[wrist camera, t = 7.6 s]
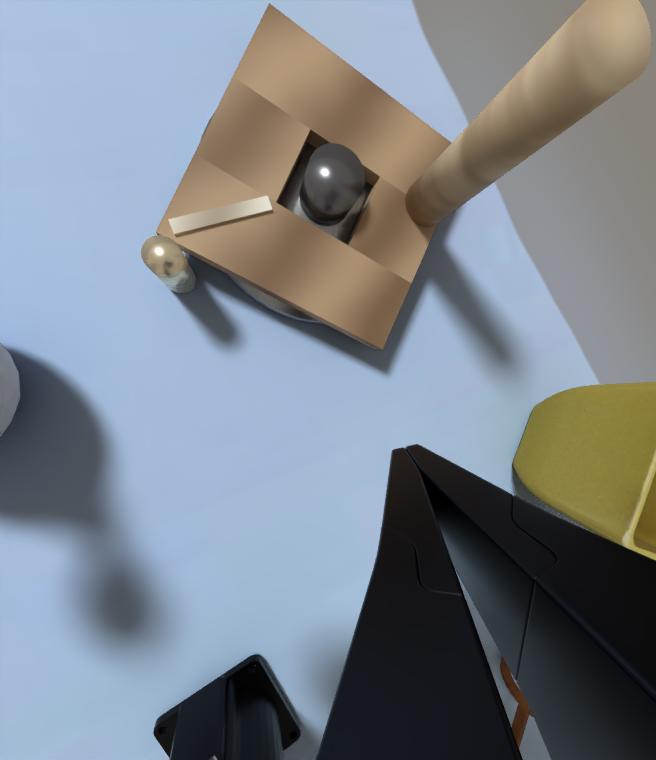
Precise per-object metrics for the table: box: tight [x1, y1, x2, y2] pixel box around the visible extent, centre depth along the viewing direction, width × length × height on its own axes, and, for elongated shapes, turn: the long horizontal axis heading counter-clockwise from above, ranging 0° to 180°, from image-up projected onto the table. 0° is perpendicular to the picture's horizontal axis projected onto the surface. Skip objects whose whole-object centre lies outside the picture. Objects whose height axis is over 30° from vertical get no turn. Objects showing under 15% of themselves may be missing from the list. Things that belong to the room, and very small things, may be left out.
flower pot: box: [513, 382, 656, 560], centre depth 20 cm, size 9×9×9 cm
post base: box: [141, 111, 426, 324], centre depth 17 cm, size 14×17×4 cm
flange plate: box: [156, 0, 651, 350], centre depth 13 cm, size 13×13×11 cm
